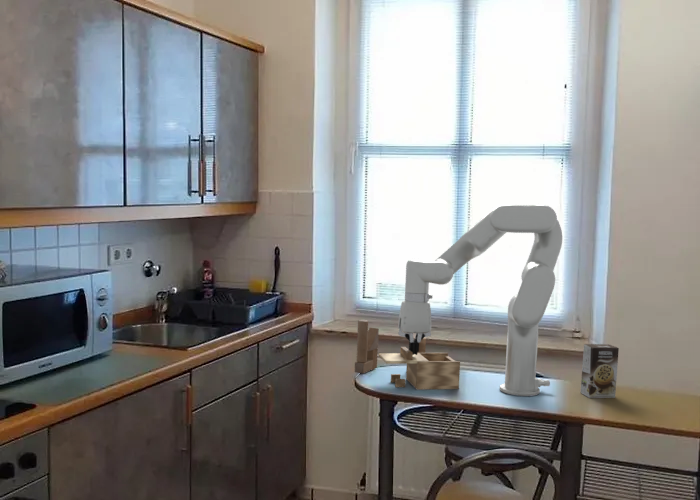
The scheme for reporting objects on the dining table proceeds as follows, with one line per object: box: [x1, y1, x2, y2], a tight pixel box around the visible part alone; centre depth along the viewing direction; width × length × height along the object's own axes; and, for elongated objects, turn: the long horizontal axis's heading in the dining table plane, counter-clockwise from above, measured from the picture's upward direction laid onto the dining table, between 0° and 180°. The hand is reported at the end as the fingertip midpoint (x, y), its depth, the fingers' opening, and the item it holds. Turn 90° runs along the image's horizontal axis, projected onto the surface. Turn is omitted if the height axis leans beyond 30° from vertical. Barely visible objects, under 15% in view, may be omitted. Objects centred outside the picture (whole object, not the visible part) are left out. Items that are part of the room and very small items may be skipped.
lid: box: [378, 346, 428, 365], centre depth 247 cm, size 14×11×3 cm
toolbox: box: [390, 352, 461, 390], centre depth 249 cm, size 20×13×9 cm, turn 101°
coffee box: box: [580, 343, 620, 399], centre depth 242 cm, size 9×6×16 cm
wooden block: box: [354, 319, 380, 374], centre depth 265 cm, size 4×11×18 cm, turn 152°
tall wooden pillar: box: [413, 335, 427, 353], centre depth 266 cm, size 4×4×12 cm
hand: (413, 353), depth 248 cm, fingers closed
